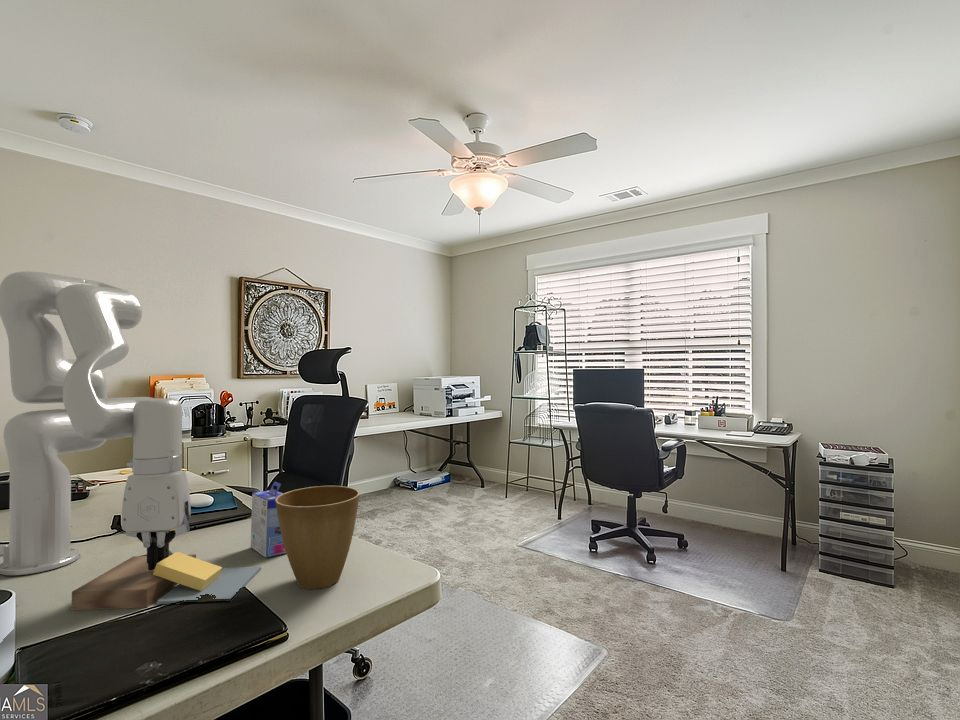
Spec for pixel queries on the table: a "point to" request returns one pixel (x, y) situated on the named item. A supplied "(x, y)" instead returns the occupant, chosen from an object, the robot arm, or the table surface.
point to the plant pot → (317, 531)
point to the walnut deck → (123, 587)
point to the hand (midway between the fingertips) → (157, 567)
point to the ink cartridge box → (266, 523)
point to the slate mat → (214, 586)
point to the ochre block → (187, 571)
